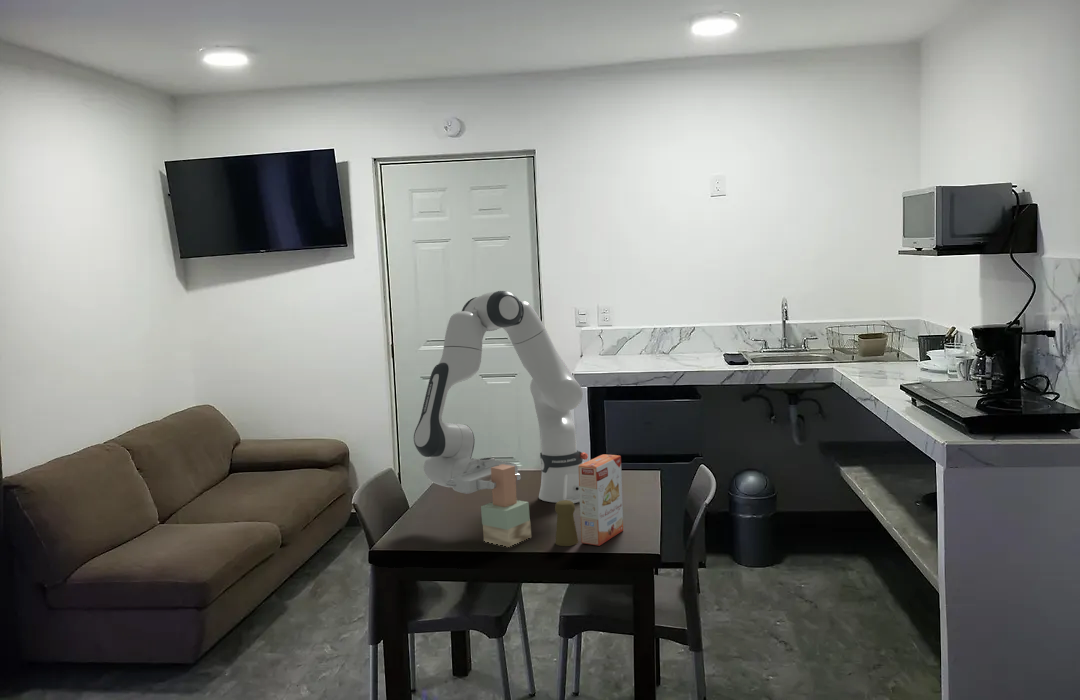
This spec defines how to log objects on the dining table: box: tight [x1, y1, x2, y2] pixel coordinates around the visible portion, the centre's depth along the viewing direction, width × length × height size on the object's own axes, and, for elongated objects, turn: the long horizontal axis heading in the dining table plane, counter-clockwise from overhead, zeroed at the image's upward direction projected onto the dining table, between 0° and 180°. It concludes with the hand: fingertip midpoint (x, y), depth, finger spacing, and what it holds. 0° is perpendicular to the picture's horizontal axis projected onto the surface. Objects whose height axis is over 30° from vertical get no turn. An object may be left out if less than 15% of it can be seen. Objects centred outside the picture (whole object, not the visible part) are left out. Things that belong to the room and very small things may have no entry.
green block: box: [480, 499, 531, 530], centre depth 224 cm, size 9×9×5 cm
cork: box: [554, 500, 579, 547], centre depth 219 cm, size 6×6×11 cm
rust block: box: [491, 464, 518, 507], centre depth 223 cm, size 4×4×10 cm
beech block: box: [482, 520, 532, 548], centre depth 225 cm, size 9×9×5 cm
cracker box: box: [578, 454, 624, 547], centre depth 221 cm, size 14×6×21 cm, turn 148°
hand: (506, 481), depth 223 cm, fingers open, 8 cm apart
